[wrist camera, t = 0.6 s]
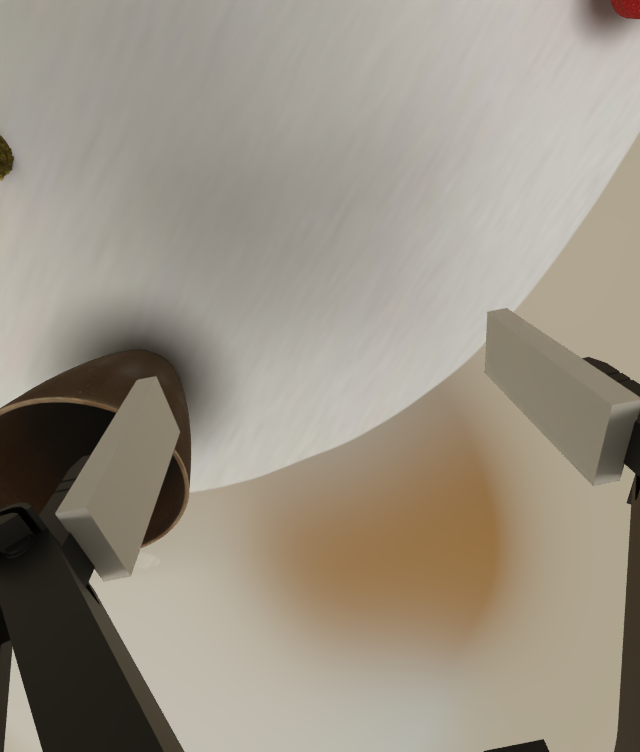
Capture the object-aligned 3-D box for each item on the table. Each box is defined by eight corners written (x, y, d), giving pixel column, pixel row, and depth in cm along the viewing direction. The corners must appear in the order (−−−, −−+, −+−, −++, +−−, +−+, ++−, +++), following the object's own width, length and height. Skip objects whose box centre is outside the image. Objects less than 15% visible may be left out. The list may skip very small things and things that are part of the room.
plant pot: (145, 283, 38) (68, 355, 24) (245, 392, 45) (230, 498, 31) (36, 366, 41) (-89, 474, 27) (145, 456, 47) (89, 581, 33)
